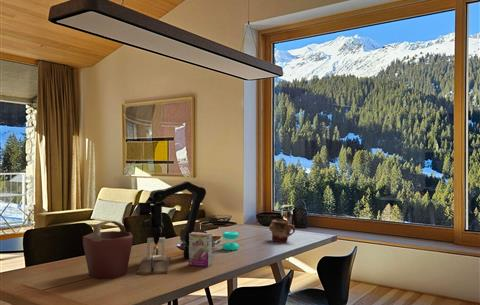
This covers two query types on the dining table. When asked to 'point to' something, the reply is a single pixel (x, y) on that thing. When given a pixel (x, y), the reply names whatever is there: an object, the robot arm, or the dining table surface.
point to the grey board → (159, 266)
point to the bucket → (107, 251)
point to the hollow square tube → (149, 241)
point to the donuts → (230, 245)
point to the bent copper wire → (153, 257)
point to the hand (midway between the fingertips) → (156, 244)
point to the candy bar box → (200, 249)
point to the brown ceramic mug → (281, 230)
